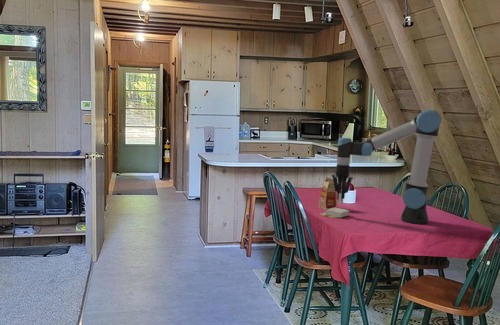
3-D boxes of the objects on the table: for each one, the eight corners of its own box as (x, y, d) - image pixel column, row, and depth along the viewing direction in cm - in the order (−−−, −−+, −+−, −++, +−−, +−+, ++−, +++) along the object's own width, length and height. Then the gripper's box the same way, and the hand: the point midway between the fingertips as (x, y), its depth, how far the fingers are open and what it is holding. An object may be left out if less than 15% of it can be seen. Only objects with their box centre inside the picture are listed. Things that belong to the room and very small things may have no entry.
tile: (349, 210, 285) (334, 207, 291) (341, 212, 278) (326, 209, 284) (348, 215, 286) (334, 212, 292) (340, 218, 278) (325, 214, 284)
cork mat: (348, 214, 288) (348, 214, 288) (336, 218, 277) (336, 218, 277) (330, 211, 296) (330, 210, 296) (318, 214, 285) (318, 214, 285)
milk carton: (325, 209, 299) (327, 178, 296) (317, 206, 307) (319, 175, 305) (337, 209, 302) (340, 177, 300) (330, 206, 311) (332, 175, 308)
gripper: (356, 165, 279) (353, 204, 282) (336, 162, 287) (334, 201, 290) (350, 166, 273) (347, 206, 276) (330, 163, 281) (327, 203, 284)
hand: (340, 203), depth 283 cm, fingers closed
